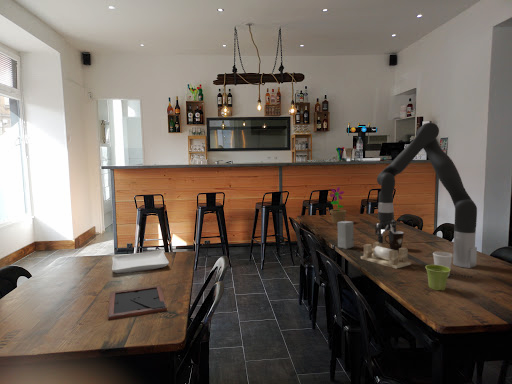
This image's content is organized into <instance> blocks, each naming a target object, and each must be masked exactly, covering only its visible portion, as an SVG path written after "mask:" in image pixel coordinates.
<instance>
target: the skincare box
mask: <svg viewBox="0 0 512 384" xmlns="http://www.w3.org/2000/svg"><path fill="white" fill-rule="evenodd" d="M354 231H355V230H354V221H349V220H348V221H347V220H344V221H341V222H337V248H341V249H344V250H347V249H351V248H353V247H355V246H354V245H355V243H354V240H355V239H354V236H355V235H354Z"/></svg>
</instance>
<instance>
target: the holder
mask: <svg viewBox="0 0 512 384" xmlns="http://www.w3.org/2000/svg"><path fill="white" fill-rule="evenodd" d="M376 246H379V247H382V243H379V242H378V241H375V242H373V243H372V244H371V243H367V244H363V255H362V256H361V255H360V259H361V260H365V261H368V262H371V263H373V264H378V265H381V266H385V267H388V268H393V269H400V268H403V267H407V266H410V265H411V264H412V262H411V261H408V251H409V250H408V249H409V248H406V247H401V248H399V250H391V251H389V261H388V260H385V259H381V258H377V257H375V256H374V254H373V253H372V248H375V247H376ZM398 254H399V255H402V256H403V258H402V260H398Z"/></svg>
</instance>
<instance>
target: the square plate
mask: <svg viewBox="0 0 512 384" xmlns="http://www.w3.org/2000/svg"><path fill="white" fill-rule="evenodd" d="M111 259H112V265H111V271H112V272H113V273H116V274H123V273H125V274H127V273H134V272H141V271H149V270H156V269H160V268H165V267H166V266H168V265H169V264H170V262H169V259H168V258H167V257H166V254H165V252H164V251H163V250H159V251H158V250H157V251H156V250H155V251H146V252H144V251H143V252H138V253H137V252H136V253H128V254H121V255H115V256H112V257H111Z"/></svg>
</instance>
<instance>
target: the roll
mask: <svg viewBox="0 0 512 384" xmlns="http://www.w3.org/2000/svg"><path fill="white" fill-rule="evenodd" d="M391 250H392V249H390V248H387V247H383V246H381V247H379V246H376V247H375V248H373V247H372V254H374V256H375V257H377V258H381V259H385V260H388V261H389V251H391ZM402 258H403V256H402V255H399V253H398V260H402Z"/></svg>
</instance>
